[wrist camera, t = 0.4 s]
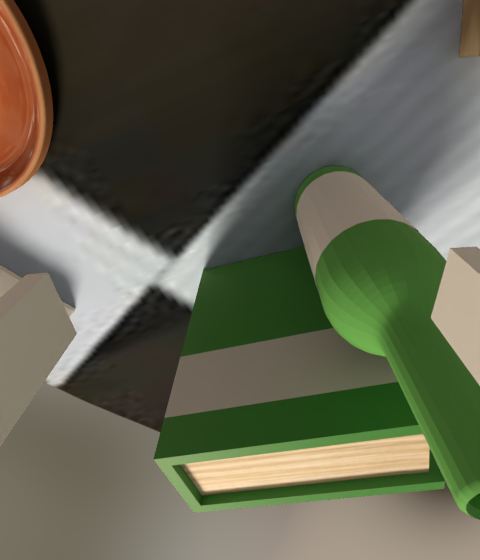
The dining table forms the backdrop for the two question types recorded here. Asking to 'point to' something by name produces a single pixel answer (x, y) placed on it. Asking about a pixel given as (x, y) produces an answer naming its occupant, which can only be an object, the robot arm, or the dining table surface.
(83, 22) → the dining table surface
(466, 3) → the wooden tray
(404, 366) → the wine bottle
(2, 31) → the saucer
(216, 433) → the hardback book
